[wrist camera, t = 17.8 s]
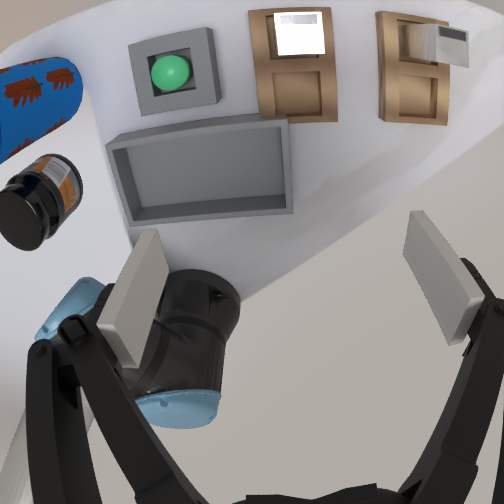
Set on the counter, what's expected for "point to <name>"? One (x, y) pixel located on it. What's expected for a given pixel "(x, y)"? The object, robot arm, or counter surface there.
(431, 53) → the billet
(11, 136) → the thermos
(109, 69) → the counter surface
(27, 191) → the supplement container
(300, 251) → the counter surface
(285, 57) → the pallets
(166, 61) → the button
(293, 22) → the block
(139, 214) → the tote
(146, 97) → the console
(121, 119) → the counter surface
